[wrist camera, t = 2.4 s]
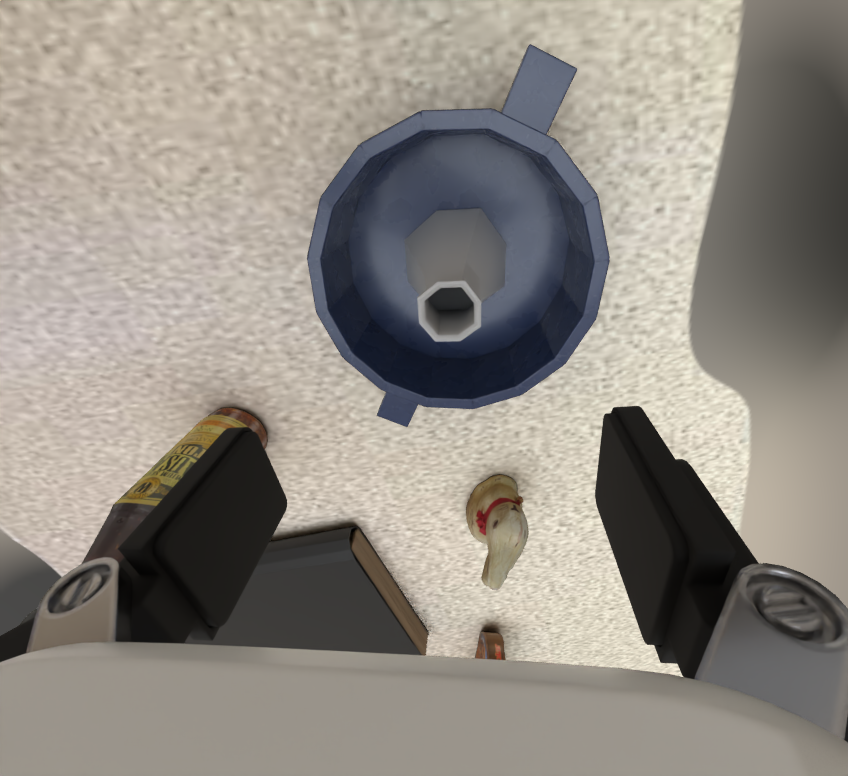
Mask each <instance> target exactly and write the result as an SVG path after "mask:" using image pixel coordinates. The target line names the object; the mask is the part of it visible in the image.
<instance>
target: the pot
mask: <svg viewBox="0 0 848 776" xmlns="http://www.w3.org/2000/svg"><path fill="white" fill-rule="evenodd" d="M576 71H577V68H575V67H573V66H571V65H570V64H568V63H566V62H564V61H562V60H560V59H558V58H556V57H554V56H552V55H550V54H548V53H546V52H544V51H543V50H541V49H539V48H537V47H535V46H533V45H531V44H530V45H529V46H528V48H527V49H526V52H525V54H524V56H523V59H522V61H521V64H520V66H519V69H518V71H517V74H516V76H515V78H514V81H513V83H512V86H511V88H510V91H509V93H508V96H507V98H506V100H505V103H504V105H503V108H502V110H501V112H499V111H497V110H495V109H492V108H489V109H454V110H422V111H421V112H417V113H415V114H414V115H412V116H410V117H408V118H406V119H404V120H403V121H401V122H399V123H397V124H395V125H393V126H392V127H390V128H388V129H386V130H384V131H382V132H381V133H379V134H377V135H375V136H373V137H371V138H369V139H368V140H366V141H364V142H362V143H361V144H360V145H358V146H357V148H356V149H355V150H354V152H353V153H352V155H351V156H350V157H349V159H348V160H347V161H346V163H345V164H344V166H343V167H342V168H341V170H340V171H339V172H338V174H337V175H336V177H335V178H334V179H333V181H332V182H331V183H330V185H329V186H328V187H327V189H326V190H325V192H324V193H323V194H322V196H321V198H320V201H319V206H318V210H317V215H316V219H315V224H314V228H313V233H312V237H311V242H310V246H309V251H308V255H307V260H308V266H309V272H310V278H311V284H312V290H313V296H314V302H315V308H316V312H317V315H318V316H319V318H320V320H321V322H322V323H323V325H324V327H325V328H326V330H327V332H328V334H329V335H330V337H331V339H332V340H333V342H334V344H335V346H336V347H337V349H338V351H339V352H340V354H341V356H342V357H343V358H344V359H345V360H346V361H347V362H349V363H350V364H351V365H352V366H353V367H355V368H356V369H357V370H358V371H359V372H360V373H362V374H363V375H364V376H365V377H366V378H368V379H369V380H370V381H371V382H372V383H374V384H375V385H376V386H377V387H378V388H379V389H381V390H383V391H385V392H386V393H385V396H384V398H383V400H382V403H381V405H380V408H379V411H378V413H377V416H379V417H382V418H385V419H387V420H390V421H393V422H395V423H398V424H401V425H403V426H406V427H408V425H409V422H410V420H411V418H412V416H413V414H414V412H415V410H416V408H417V406H418V404H419V405H422V406H424V407H437V408H461V409H475V408H479V407H482V406H486V405H489V404H493V403H496V402H499V401H503V400H506V399H510V398H513V397H517V396H520V395H521V394H524V393H525V392H527V391H528V390H529V389H531V388H532V387H534V386H535V385H536V384H538V383H539V382H541V381H542V380H543V379H545V378H546V377H548V376H549V375H551V374H552V373H553V372H555V371H556V370H558V369H559V368H560V367H562V366H563V365H564V364H566V362H567V361H568V359H569V358H570V356H571V355H572V353H573V352H574V350H575V349H576V347H577V346H578V345H579V343H580V342H581V340H582V339H583V337H584V336H585V334H586V333H587V331H588V330H589V329H590V327H591V326H592V324H593V323H594V321H595V320H596V317H597V314H598V309H599V305H600V300H601V296H602V292H603V287H604V283H605V278H606V274H607V270H608V265H609V261H610V260H609V258H610V257H609V252H608V247H607V241H606V236H605V231H604V226H603V220H602V215H601V210H600V205H599V200H598V196H597V193H596V192H595V191H594V189H593V188H592V187H591V185H590V184H589V183H588V181H587V180H586V179H585V177H584V176H583V175H582V173H581V172H580V170H579V169H578V168H577V166H576V165H575V164H574V162H573V161H572V160H571V158H570V157H569V156H568V154H567V153H566V152H565V150H564V149H563V148H562V146H561V145H560V143H559V142H558V141H556V139H554V138H552V137H550V136H548V135H546V134H547V132H548V130H549V128H550V126H551V124H552V122H553V120H554V118H555V115H556V113H557V111H558V109H559V107H560V105H561V103H562V101H563V99H564V97H565V94H566V92H567V90H568V88H569V86H570V84H571V82H572V80H573V78H574V76H575V73H576ZM474 208H481V209H482V210H483V212H484V213H485V215H486V216H487V217H488V219H489V220H490V222H491V223H492V225H493V226H494V227H495V229H496V230H497V232H498V233H499V234H500V236H501V237H502V239H503V240H504V241H505V243H506V262H505V284H504V287H503V288H501V289H500V290H499V291H497V292H496V293H495V294H493V295H492V296H491V297H489V298H488V299H487V300H485V301H484V302H482V303H481V327H480V328H478V329H477V330H475V331H474V332H473V333H471V334H470V335H468V336H467V337H466V338H464V339H463V340H461V341H443V342H435V341H434V340H433V338H432V337H431V336H430V335H429V334H428V333H427V332H426V330H425V329H424V328H423V327H422V326H421V325H420V324H419V315H418V301H417V297H418V296H419V294H418V293H417V292H416V291H415V289H414V288H413V287H412V286H411V285H410V284H409V282H408V277H407V265H406V253H405V241H404V240H405V239H406V238H407V237H408V236H409V235H410V234H411V233H413V232H414V231H415V230H416V229H417V228H418V227H419V226H420V225H421V224H422V223H424V222H425V221H426V220H427V219H428V218H429V217H430V216H431V215H432V214H433V213H435V212H436V211H438V210H456V209H474Z"/></svg>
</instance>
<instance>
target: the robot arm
mask: <svg viewBox="0 0 848 776" xmlns="http://www.w3.org/2000/svg"><path fill="white" fill-rule="evenodd" d="M595 498H596V504H597V508H598V511H599V513H600V516H601V519H602V522H603V525H604V528H605V531H606V534H607V536H608V539H609V542H610V545H611V548H612V551H613V554H614V557H615V559H616V562H617V565H618V568H619V571H620V574H621V577H622V580H623V582H624V585H625V588H626V591H627V594H628V597H629V600H630V603H631V605H632V608H633V611H634V614H635V617H636V620H637V623H638V625H639V628H640V631H641V634H642V637H643V639H644V641H645V643H646V644H647V645H654V646H655V648H656V651H657V654H658V657H659V659H660V662H661V663H677V664H678V666H679V668H680V671H681V673H682V676H683V677H680V676H675V675H670V674H663V673H655V672H647V671H639V670H631V669H622V668H610V667H597V666H583V665H570V664H557V663H543V662H529V661H511V660H494V659H476V658H458V657H440V656H423V655H405V654H386V653H366V652H347V651H327V650H307V649H287V648H267V647H245V646H222V645H200V644H184V643H185V641H186V639H187V638H188V636H189V635H190V637H191V638H192V639H193V640H208V641H213V639H214V638H215V636H216V634H217V632H218V630H219V628H220V627H221V626H223V625H224V624H225V623H226V622H227V621H228V619H229V617H230V615H231V613H232V612H233V610H234V608H235V606H236V604H237V602H238V600H239V598H240V596H241V594H242V593H243V591H244V589H245V587H246V585H247V583H248V581H249V579H250V577H251V576H252V574H253V572H254V570H255V568H256V566H257V564H258V562H259V560H260V558H261V557H262V555H263V553H264V551H265V549H266V547H267V545H268V543H269V541H270V539H271V538H272V536H273V534H274V532H275V530H276V528H277V526H278V524H279V522H280V521H281V519H282V517H283V515H284V513H285V511H286V508H287V499H286V496H285V494H284V492H283V489H282V487H281V485H280V483H279V480H278V478H277V476H276V474H275V472H274V469H273V467H272V465H271V463H270V460H269V458H268V456H267V454H266V451H265V449H264V447H263V445H262V442H261V440H260V438H259V436H258V434H257V433H256V432H253V431H252V429H250V428H249V427H236V428H227V429H226V430H224V431H223V432H222V433H221V435H220V436H219V437H218V438H217V439H216V440H215V441H214V442H213V443H212V445H211V446H210V447H209V448H208V449H207V450H206V451H205V452H204V453H203V455H202V456H201V457H200V458H199V459H198V460H197V461H196V462H195V463H194V465H193V466H192V467H191V468H190V469H189V470H188V471H187V472H186V473H185V475H184V476H183V477H182V478H181V479H180V480H179V481H178V482H177V483H176V484H175V486H174V487H173V488H172V489H171V490H170V491H169V492H168V493H167V494H166V496H165V497H164V498H163V499H162V500H161V501H160V502H159V503H158V504H157V506H156V507H155V508H154V509H153V510H152V511H151V512H150V513H149V514H148V516H147V517H146V518H145V519H144V520H143V521H142V522H141V523H140V524H139V526H138V527H137V528H136V529H135V530H134V531H133V532H132V533H131V534H130V536H129V537H128V538H127V539H126V540H125V541H124V542H123V543H122V544H121V545H120V547H119V548H118V550H119V551H120V552H121V553H122V555H123V556H124V558H123V559H122V560H121V562H120V563H118V562H117V561H116V560H114V559H113V558H108V557H103V558H98V559H94V560H91V561H89V562H86V563H84V564H82V565H80V566H78V567H76V568H75V569H73V570H71V571H70V572H69V573H67V574H66V575H64V576H63V577H62V578H60V579H59V580H58V581H57V582H56V583H55V584H54V585H53V586H52V587H51V588H50V589H49V590H48V591H47V593H46V594H45V595H44V597H43V598H42V600H41V602H40V604H39V606H38V608H37V612H36V616H35V617H34V618H32V619H30V620H28V621H27V622H25V623H23V624H21V625H19V626H17V627H16V628H14V629H12V630H10V631H8V632H7V633H5V634H3V635H1V636H0V776H848V608H847V607H846V606H845V605H844V604H843V603H842V602H841V601H840V600H839V598H838V597H837V596H836V595H835V594H833V593H832V592H831V591H829V590H828V589H827V588H826V587H824V586H823V585H822V584H820V583H819V582H817V581H815V580H813V579H811V578H810V577H808V576H806V575H804V574H803V573H801V572H797V571H795V570H792V569H790V568H787V567H784V566H779V565H773V564H767V563H763V564H759V563H758V562H757V560H756V559H755V557H754V556H753V555H752V553H751V552H750V550H749V549H748V547H747V546H746V545H745V543H744V542H743V540H742V539H741V537H740V536H739V534H738V533H737V532H736V530H735V529H734V527H733V526H732V524H731V523H730V521H729V520H728V519H727V517H726V516H725V514H724V513H723V511H722V510H721V508H720V507H719V506H718V504H717V503H716V501H715V500H714V498H713V497H712V496H711V494H710V493H709V491H708V490H707V488H706V487H705V485H704V484H703V483H702V481H701V480H700V478H699V477H698V475H697V474H696V472H695V471H694V470H693V468H692V467H691V466H690V464H689V463H688V462H687V461H685V460H683V459H676V460H675V458H674V456H673V455H672V453H671V452H670V450H669V449H668V447H667V446H666V444H665V443H664V441H663V440H662V438H661V437H660V435H659V434H658V432H657V431H656V429H655V428H654V426H653V425H652V423H651V422H650V420H649V418H648V417H647V415H646V414H645V412H644V411H643V409H642V408H641V407H639V406H630V407H614V408H613V409H612V412H611V413H609V414H605V415H604V419H603V427H602V436H601V445H600V454H599V463H598V472H597V481H596V490H595Z"/></svg>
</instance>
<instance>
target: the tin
mask: <svg viewBox="0 0 848 776" xmlns="http://www.w3.org/2000/svg"><path fill="white" fill-rule="evenodd" d="M475 658H476V659H494V660H505V652H504V641H503V637H502V636H501V634H499V633H489V632H483V631H482V632H481V633H480V637H479V642H478V647H477V652H476V657H475Z"/></svg>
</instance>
